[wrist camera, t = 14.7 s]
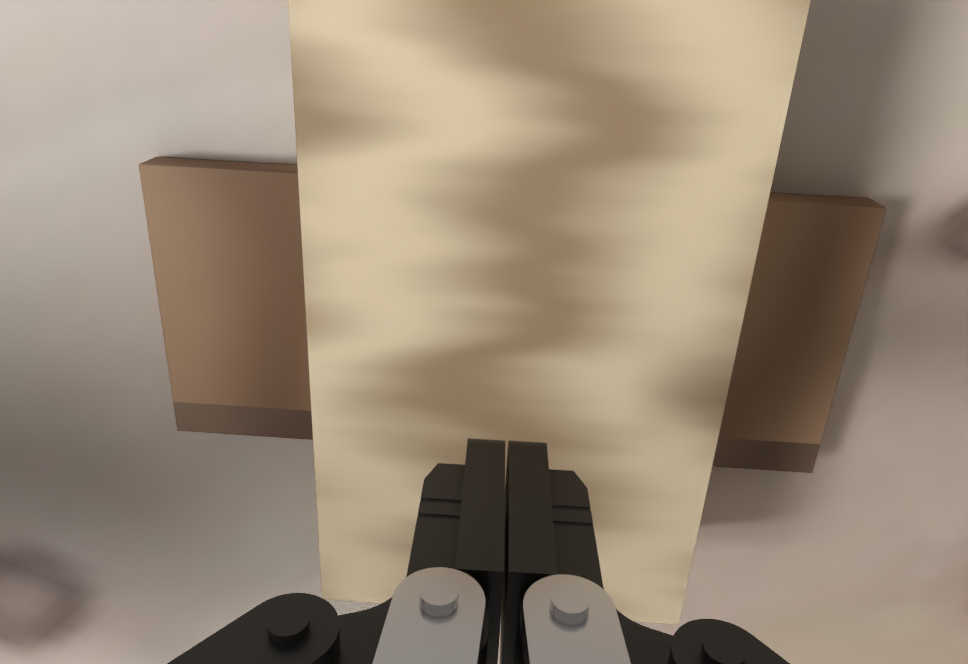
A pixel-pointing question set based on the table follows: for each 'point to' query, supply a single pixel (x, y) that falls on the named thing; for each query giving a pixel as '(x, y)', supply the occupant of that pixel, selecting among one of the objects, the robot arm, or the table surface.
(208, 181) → the floor panel
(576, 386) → the oak plank
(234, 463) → the table surface
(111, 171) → the table surface
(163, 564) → the table surface
